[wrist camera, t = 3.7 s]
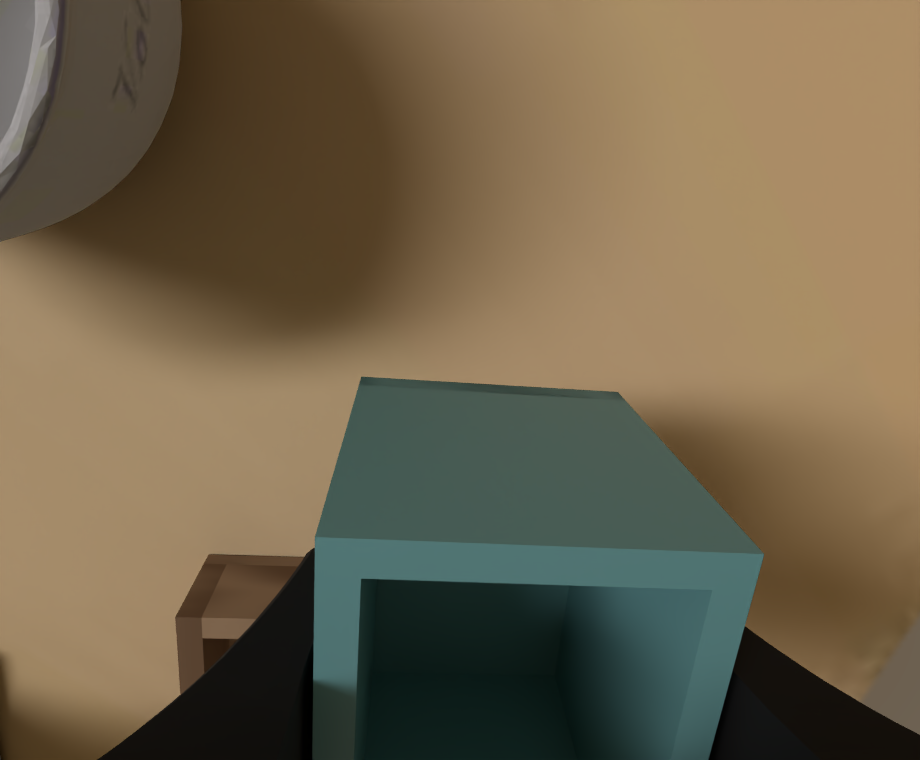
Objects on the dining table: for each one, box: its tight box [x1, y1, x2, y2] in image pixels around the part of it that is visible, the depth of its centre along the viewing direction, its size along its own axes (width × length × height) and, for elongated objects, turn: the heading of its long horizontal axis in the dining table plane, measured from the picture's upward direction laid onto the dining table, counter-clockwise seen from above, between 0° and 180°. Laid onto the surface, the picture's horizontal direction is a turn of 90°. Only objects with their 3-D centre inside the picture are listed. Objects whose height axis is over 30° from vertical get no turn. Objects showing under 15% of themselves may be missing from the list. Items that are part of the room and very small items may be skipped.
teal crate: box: [312, 377, 764, 760], centre depth 10 cm, size 5×7×6 cm
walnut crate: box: [175, 555, 304, 694], centre depth 21 cm, size 9×11×3 cm
